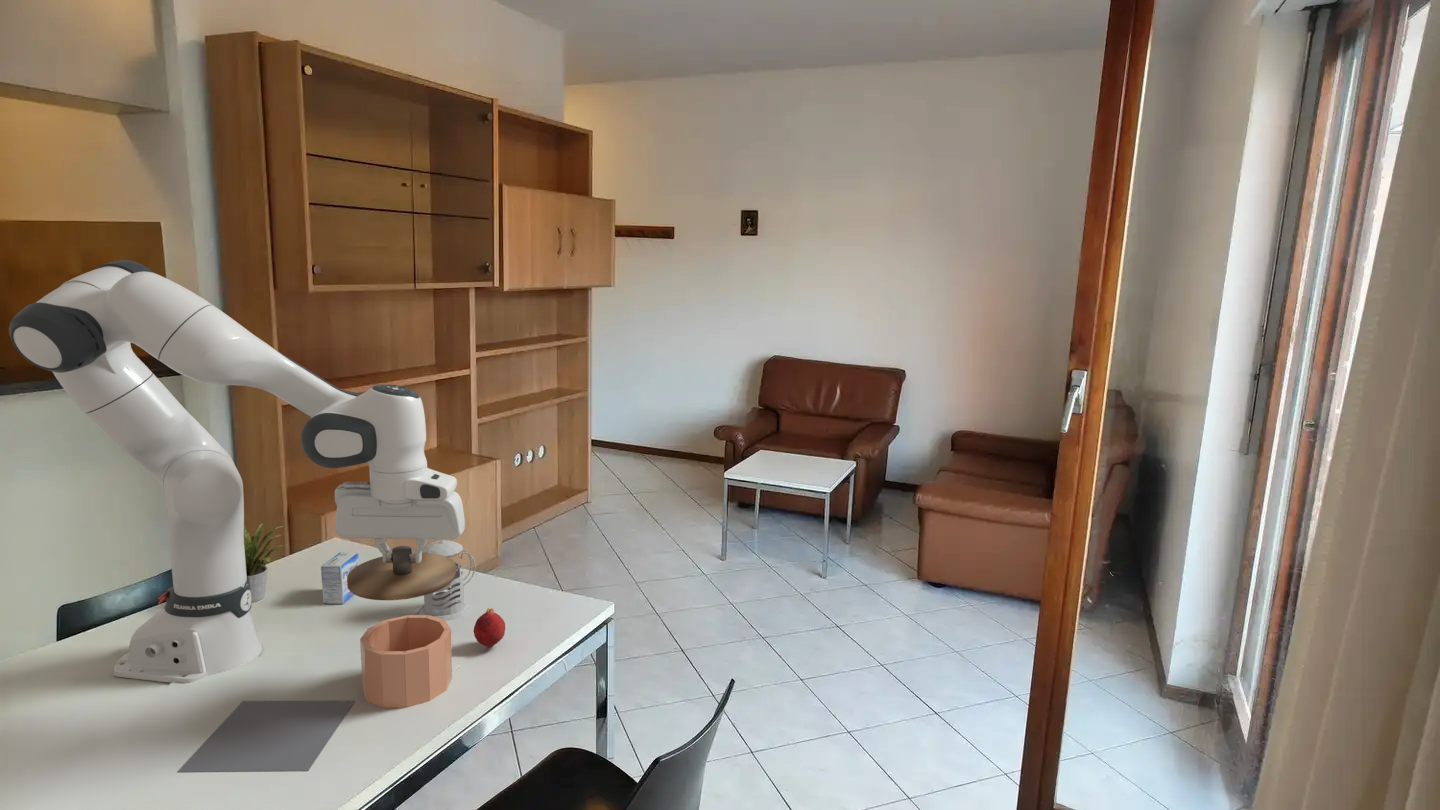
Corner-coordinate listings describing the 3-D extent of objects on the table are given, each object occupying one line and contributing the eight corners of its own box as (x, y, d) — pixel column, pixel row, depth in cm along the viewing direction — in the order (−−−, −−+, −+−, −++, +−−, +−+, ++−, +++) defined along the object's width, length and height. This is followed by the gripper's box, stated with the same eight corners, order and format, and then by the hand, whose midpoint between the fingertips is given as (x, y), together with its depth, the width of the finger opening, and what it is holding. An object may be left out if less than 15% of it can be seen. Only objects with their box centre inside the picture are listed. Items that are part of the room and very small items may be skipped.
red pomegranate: (496, 656, 148) (496, 617, 146) (468, 652, 149) (467, 613, 147) (510, 642, 153) (510, 604, 152) (483, 638, 154) (482, 600, 153)
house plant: (310, 588, 172) (305, 518, 169) (261, 616, 159) (256, 540, 156) (254, 580, 175) (249, 511, 172) (202, 607, 162) (195, 532, 159)
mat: (177, 775, 112) (177, 771, 112) (243, 703, 129) (242, 700, 129) (308, 773, 113) (308, 770, 113) (355, 703, 131) (355, 700, 131)
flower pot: (351, 710, 129) (348, 654, 127) (380, 665, 143) (378, 614, 141) (438, 709, 130) (436, 654, 128) (459, 666, 144) (458, 615, 142)
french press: (411, 608, 165) (407, 495, 160) (464, 594, 173) (462, 485, 168) (430, 626, 158) (426, 507, 153) (484, 610, 166) (482, 497, 161)
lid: (330, 600, 123) (328, 569, 122) (369, 558, 140) (368, 530, 139) (440, 600, 124) (439, 570, 123) (466, 559, 141) (466, 531, 140)
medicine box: (343, 605, 166) (341, 566, 164) (322, 604, 166) (320, 565, 164) (360, 589, 173) (359, 552, 172) (340, 588, 173) (338, 551, 172)
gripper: (325, 487, 125) (330, 568, 128) (456, 489, 127) (458, 569, 129) (341, 476, 131) (346, 554, 134) (466, 478, 133) (468, 555, 135)
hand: (402, 561), depth 132 cm, fingers closed on lid, 3 cm apart
